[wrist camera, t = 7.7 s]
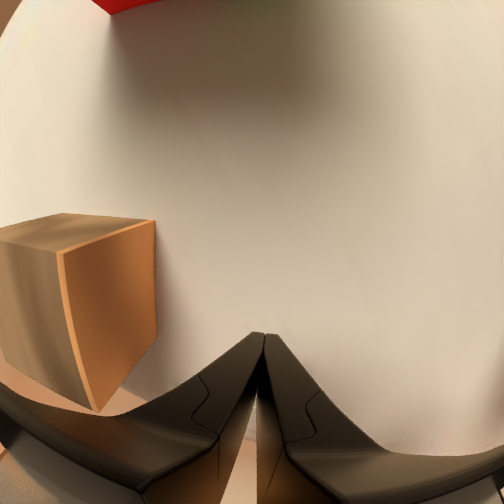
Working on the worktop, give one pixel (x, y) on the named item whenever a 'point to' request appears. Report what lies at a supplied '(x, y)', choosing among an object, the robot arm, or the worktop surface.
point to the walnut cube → (77, 301)
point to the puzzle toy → (120, 4)
